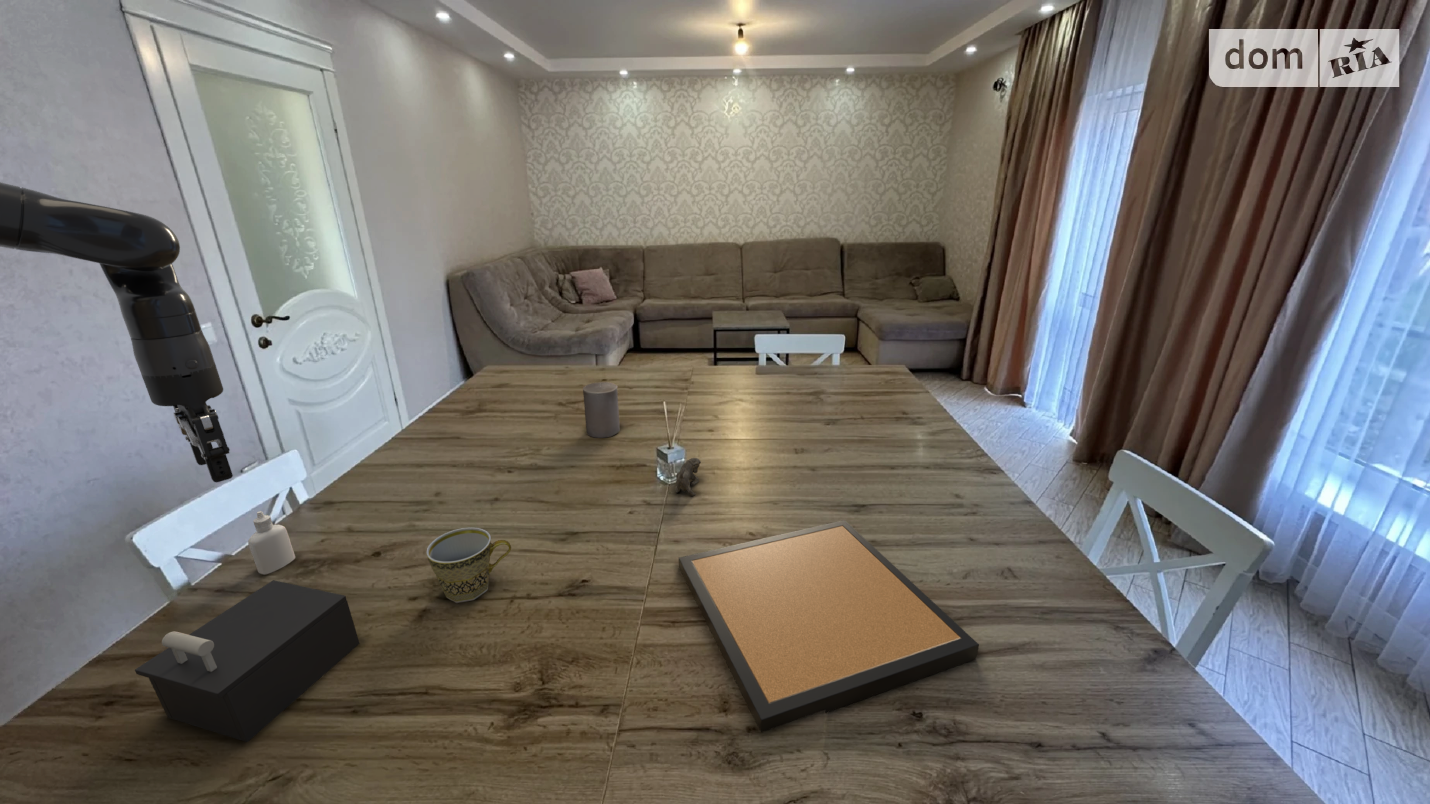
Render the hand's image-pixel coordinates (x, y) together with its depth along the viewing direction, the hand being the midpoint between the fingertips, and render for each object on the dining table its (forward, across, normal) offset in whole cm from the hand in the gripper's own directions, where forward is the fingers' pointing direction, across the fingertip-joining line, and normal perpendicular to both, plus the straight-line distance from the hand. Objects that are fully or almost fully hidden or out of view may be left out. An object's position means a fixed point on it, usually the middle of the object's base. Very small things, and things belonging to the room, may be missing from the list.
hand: (215, 471), depth 81 cm
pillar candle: (+26, -13, +85) cm, 90 cm away
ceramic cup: (+27, +22, +25) cm, 42 cm away
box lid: (+18, +17, -4) cm, 25 cm away
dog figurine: (+26, +28, +75) cm, 84 cm away
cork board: (+26, +70, +56) cm, 94 cm away
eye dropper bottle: (+27, -13, +6) cm, 31 cm away
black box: (+27, +16, -4) cm, 32 cm away
